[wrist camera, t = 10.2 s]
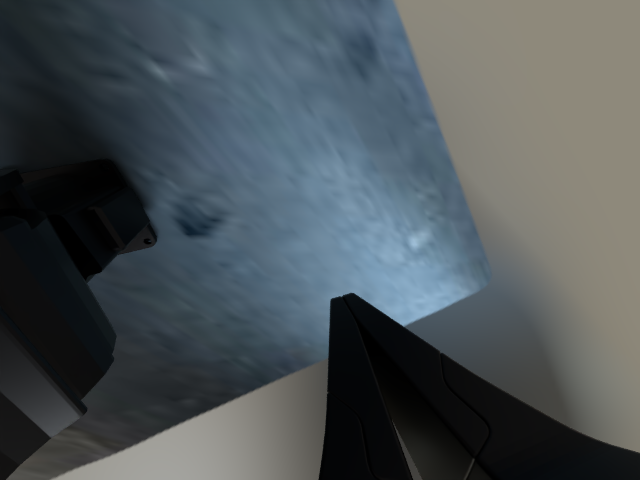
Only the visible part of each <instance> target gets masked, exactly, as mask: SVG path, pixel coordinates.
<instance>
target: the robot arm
mask: <svg viewBox="0 0 640 480" xmlns="http://www.w3.org/2000/svg"><path fill="white" fill-rule="evenodd" d="M102 164H106V165H107V166H108V168H109V170H105V169H104V168H103V166H102ZM149 221H150V220H149V218H148V217H147V215H146V213H145V211H144V209H143V208H142V206H141V204H140V202H139V200H138V199H137V197H136V195H135V193H134V192H133V190H132V189H131V188H129V187H128V186H127V185H126V183H125V181H124V179H123V178H122V176H121V174H120V172H119V170H118V169H117V167H116V165H115V164H114V163H113V162H112V161H111V160H109V159H98V160H92V161H87V162H81V163H76V164H70V165H65V166H59V167H54V168H48V169H43V170H37V171H31V172H26V173H20V174H19V172H18V170H17V169H1V170H0V480H6V479H7V478H8V477H9V476H10V475H11V474H12V473H13V472H14V471H15V470H16V469H17V467H18V466H19V465H21V464H22V463H23V462H24V461H25V460H26V459H27V458H29V457H30V456H31V455H32V454H33V453H34V452H36V451H37V450H38V449H39V448H40V447H41V446H42V445H44V444H45V443H46V442H47V441H48V440H49V439H51V438H52V437H53V436H55V435H56V434H58V433H59V432H60V431H62V430H63V429H65V428H66V427H68V426H69V425H70V424H72V423H73V422H75V421H76V420H78V419H79V418H81V417H82V416H83V415H84V414H85V413H86V412H87V407H86V406H85V405H84V403H83V402H82V401H81V400H82V399H83V398H84V397H85V396H86V394H87V393H88V392H89V391H90V390H91V389H92V388H93V387H94V386H95V385H96V384H97V383H98V381H99V380H100V379H101V378H102V377H103V376H104V375H105V374H106V372H107V370H108V369H109V367H110V366H111V364H112V363H113V361H114V357H113V355H112V353H113V351H114V346H115V341H116V334H115V331H114V329H113V327H112V325H111V323H110V322H109V320H108V318H107V317H106V315H105V313H104V312H103V310H102V308H101V306H100V305H99V303H98V301H97V300H96V298H95V296H94V295H93V293H92V291H91V289H90V288H89V286H88V284H87V283H88V282H89V281H90V280H91V279H92V278H93V276H94V275H95V274H98V273H100V272H102V271H103V270H104V269H105V268H106V266H107V265H108V264H109V263H110V262H111V261H112V260H113V259H114V258H115V257H116V256H117V255H120V254H124V253H128V252H132V251H137V250H141V249H145V248H149V247H152V246H154V245H155V243H156V242H157V238H156V236H155V234H154V232H153V231H152V229H151V227H150V225H149V224H148V223H149ZM146 239H150V240H151V242H148V241H146ZM327 392H328V394H327V411H326V425H325V436H324V444H323V453H322V460H321V467H320V473H319V480H413V478H412V475H411V472H410V470H409V467H408V464H407V461H406V458H405V456H404V453H403V451H402V447H401V444H400V442H399V439H398V436H397V433H396V430H395V428H394V425H395V427H396V429H397V431H398V433H399V435H400V437H401V439H402V441H403V442H404V444H405V447H406V448H407V450H408V452H409V454H410V456H411V458H412V460H413V462H414V464H415V466H416V468H417V470H418V472H419V474H420V476H421V478H422V480H640V453H638V452H635V451H631V450H628V449H624V448H621V447H617V446H614V445H611V444H608V443H605V442H602V441H600V440H597V439H594V438H592V437H589V436H587V435H585V434H582V433H580V432H578V431H576V430H574V429H572V428H570V427H568V426H566V425H564V424H562V423H560V422H559V421H557V420H555V419H553V418H551V417H550V416H548V415H546V414H544V413H542V412H541V411H539V410H537V409H535V408H534V407H532V406H530V405H528V404H526V403H525V402H523V401H521V400H519V399H518V398H516V397H514V396H512V395H510V394H509V393H506V392H505V391H503V390H502V389H500V388H498V387H496V386H494V385H493V384H491V383H490V382H488V381H486V380H484V379H483V378H481V377H479V376H478V375H476V374H474V373H473V372H471V371H470V370H468V369H466V368H465V367H463V366H462V365H460V364H459V363H457V362H455V361H454V360H452V359H451V358H450V357H448V356H447V355H445V354H444V353H441V354H440V351H439V350H438V349H436V348H435V347H433V346H432V345H430V344H429V343H427V342H426V341H424V340H423V339H421V338H420V337H418V336H417V335H415V334H414V333H412V332H411V331H409V330H408V329H406V328H405V327H403V326H402V325H400V324H399V323H397V322H396V321H394V320H393V319H391V318H390V317H389V316H387V315H386V314H384V313H383V312H381V311H380V310H378V309H377V308H375V307H374V306H372V305H371V304H369V303H368V302H366V301H365V300H363V299H362V298H360V297H359V296H357V295H356V294H354V293H349V294H346V295H343V296H342V297H341V296H339V297H336V298H332V299H331V301H330V328H329V357H328V386H327ZM392 421H393V422H392ZM393 423H394V425H393Z"/></svg>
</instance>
